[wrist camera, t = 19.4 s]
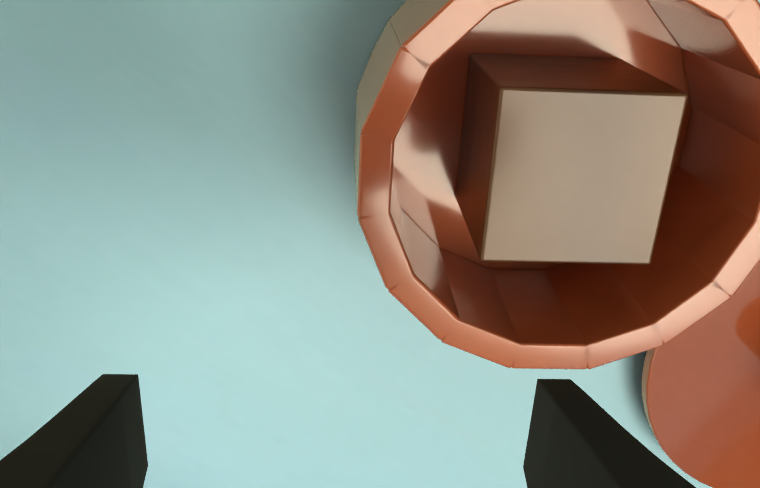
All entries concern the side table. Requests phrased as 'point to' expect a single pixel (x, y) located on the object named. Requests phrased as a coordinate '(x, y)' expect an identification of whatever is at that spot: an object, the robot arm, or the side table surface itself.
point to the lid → (711, 393)
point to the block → (565, 158)
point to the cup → (560, 280)
